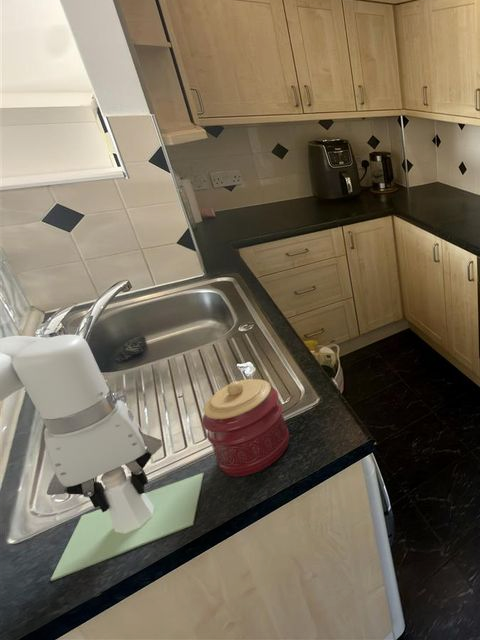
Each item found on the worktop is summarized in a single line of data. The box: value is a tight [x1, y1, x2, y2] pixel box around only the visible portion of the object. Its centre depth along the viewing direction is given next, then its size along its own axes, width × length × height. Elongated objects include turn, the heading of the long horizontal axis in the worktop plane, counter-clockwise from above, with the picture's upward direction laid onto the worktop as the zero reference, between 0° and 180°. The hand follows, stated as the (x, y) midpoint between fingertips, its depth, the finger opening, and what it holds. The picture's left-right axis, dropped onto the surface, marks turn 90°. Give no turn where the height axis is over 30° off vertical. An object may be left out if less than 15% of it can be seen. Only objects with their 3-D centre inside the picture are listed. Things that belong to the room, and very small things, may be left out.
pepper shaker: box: [100, 466, 154, 534], centre depth 69 cm, size 5×5×11 cm
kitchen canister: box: [201, 378, 290, 478], centre depth 82 cm, size 13×13×18 cm
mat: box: [50, 472, 205, 582], centre depth 71 cm, size 18×12×1 cm, turn 119°
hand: (123, 496), depth 69 cm, fingers open, 4 cm apart
